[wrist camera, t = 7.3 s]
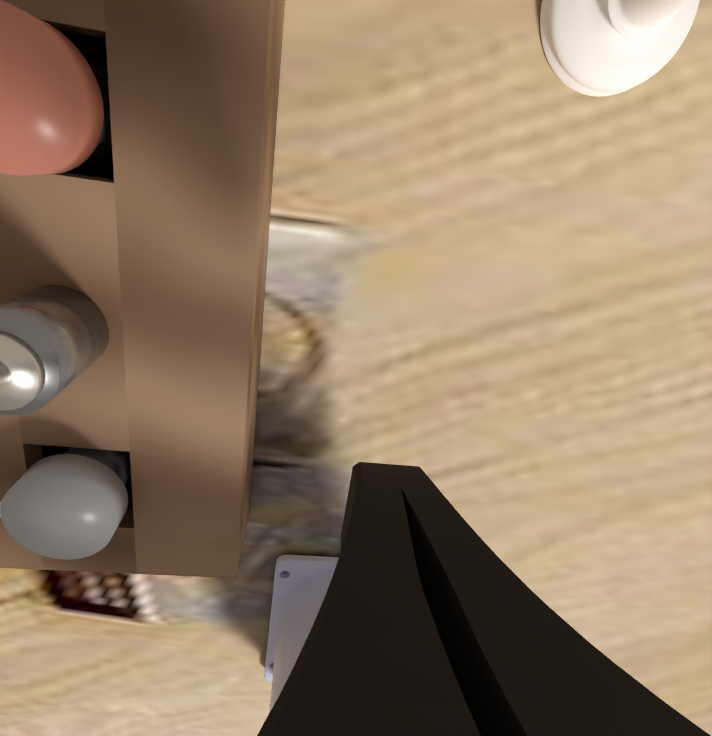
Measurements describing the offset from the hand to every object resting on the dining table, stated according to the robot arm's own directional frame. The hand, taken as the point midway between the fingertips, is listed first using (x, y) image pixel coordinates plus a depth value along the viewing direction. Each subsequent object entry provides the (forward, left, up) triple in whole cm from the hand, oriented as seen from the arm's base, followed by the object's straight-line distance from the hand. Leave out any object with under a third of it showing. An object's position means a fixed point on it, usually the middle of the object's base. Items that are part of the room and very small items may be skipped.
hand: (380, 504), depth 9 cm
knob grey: (-6, +9, -10) cm, 15 cm away
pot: (+1, +9, -6) cm, 11 cm away
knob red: (+6, +9, -10) cm, 15 cm away
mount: (+1, +9, -10) cm, 14 cm away
